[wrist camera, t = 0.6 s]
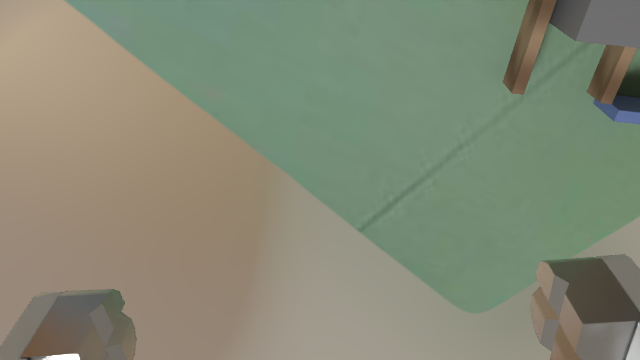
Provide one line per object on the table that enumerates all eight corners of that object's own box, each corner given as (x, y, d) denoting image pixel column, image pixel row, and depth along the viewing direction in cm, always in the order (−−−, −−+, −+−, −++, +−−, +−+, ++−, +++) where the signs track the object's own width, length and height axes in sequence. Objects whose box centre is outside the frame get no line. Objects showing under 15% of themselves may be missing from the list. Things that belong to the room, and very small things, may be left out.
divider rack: (566, -115, 44) (589, -113, 40) (779, -86, 45) (822, -81, 41) (499, 92, 54) (513, 110, 50) (674, 112, 55) (700, 130, 51)
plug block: (561, -29, 47) (596, -14, 41) (623, -21, 48) (666, -5, 42) (545, 19, 50) (575, 40, 44) (603, 26, 50) (641, 48, 44)
